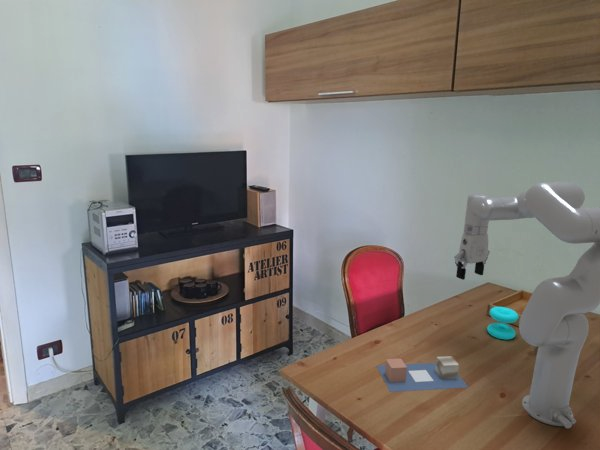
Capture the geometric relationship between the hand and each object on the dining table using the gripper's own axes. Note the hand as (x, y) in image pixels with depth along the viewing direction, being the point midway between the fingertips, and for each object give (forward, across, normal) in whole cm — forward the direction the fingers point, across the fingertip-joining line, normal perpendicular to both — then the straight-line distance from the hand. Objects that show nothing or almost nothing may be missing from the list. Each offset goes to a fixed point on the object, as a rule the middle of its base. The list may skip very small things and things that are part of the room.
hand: (469, 276), depth 149 cm
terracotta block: (+26, -37, -5) cm, 46 cm away
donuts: (+27, +20, -2) cm, 34 cm away
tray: (+27, +47, +6) cm, 55 cm away
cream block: (+26, -22, -12) cm, 36 cm away
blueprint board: (+27, -29, -8) cm, 41 cm away
